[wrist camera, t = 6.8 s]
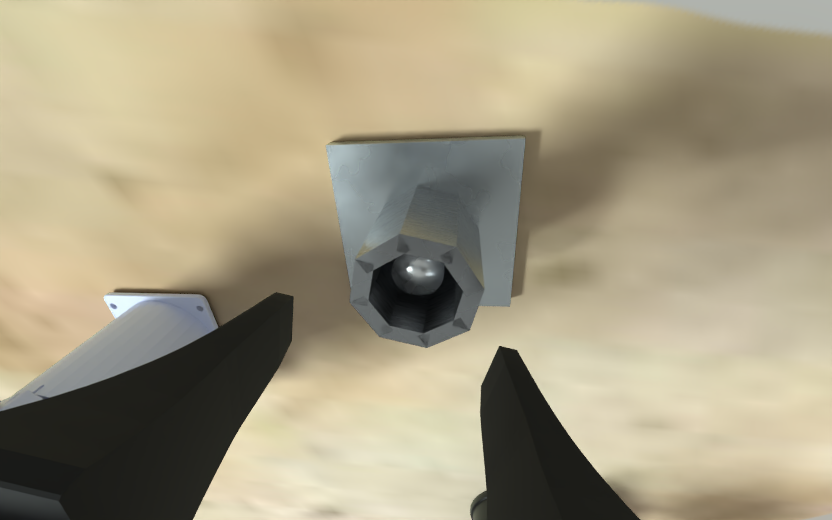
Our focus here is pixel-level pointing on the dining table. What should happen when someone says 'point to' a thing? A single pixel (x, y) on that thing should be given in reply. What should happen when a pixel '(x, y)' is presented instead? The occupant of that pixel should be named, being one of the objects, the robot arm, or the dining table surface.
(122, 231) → the dining table surface
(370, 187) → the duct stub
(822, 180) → the dining table surface
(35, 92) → the dining table surface
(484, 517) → the french press
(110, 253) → the dining table surface
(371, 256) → the collar
